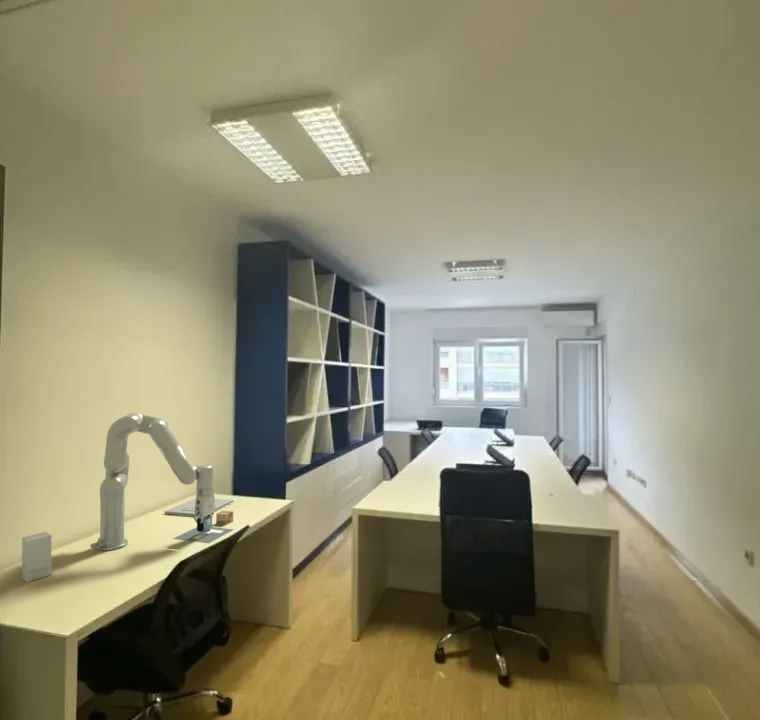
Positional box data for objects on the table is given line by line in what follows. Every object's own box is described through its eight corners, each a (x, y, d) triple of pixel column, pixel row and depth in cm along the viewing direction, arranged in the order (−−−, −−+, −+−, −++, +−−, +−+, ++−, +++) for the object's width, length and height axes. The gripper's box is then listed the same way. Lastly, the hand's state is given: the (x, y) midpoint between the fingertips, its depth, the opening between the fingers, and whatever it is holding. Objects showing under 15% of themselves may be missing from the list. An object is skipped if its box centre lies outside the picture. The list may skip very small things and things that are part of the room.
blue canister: (205, 533, 224) (205, 520, 224) (195, 532, 226) (195, 519, 226) (212, 529, 230) (213, 517, 230) (203, 528, 231) (203, 516, 231)
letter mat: (208, 544, 215) (208, 543, 215) (172, 540, 221) (172, 538, 221) (234, 530, 235) (234, 529, 235) (200, 526, 240) (200, 525, 240)
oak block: (226, 526, 241) (226, 514, 242) (216, 525, 243) (216, 513, 243) (233, 522, 247) (233, 511, 247) (223, 521, 249) (223, 510, 249)
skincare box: (46, 570, 187) (47, 531, 187) (52, 575, 183) (52, 534, 183) (20, 577, 180) (21, 536, 181) (25, 582, 176) (26, 540, 176)
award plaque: (164, 515, 261) (164, 511, 261) (197, 500, 290) (197, 497, 290) (204, 518, 255) (204, 514, 255) (233, 503, 285) (233, 500, 285)
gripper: (199, 496, 219) (199, 535, 219) (222, 487, 235) (221, 524, 235) (186, 495, 221) (185, 534, 221) (209, 486, 238) (209, 522, 237)
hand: (204, 528), depth 228 cm, fingers closed on blue canister, 5 cm apart
